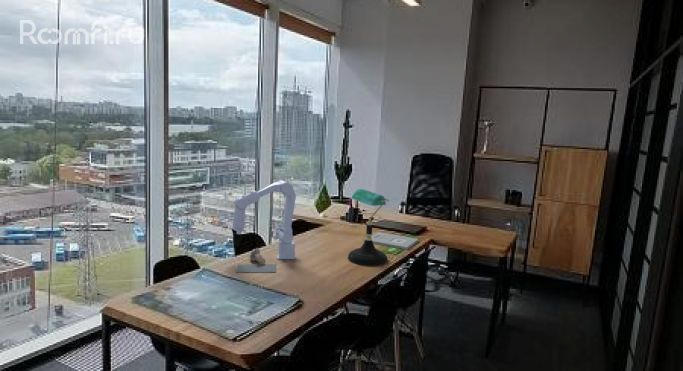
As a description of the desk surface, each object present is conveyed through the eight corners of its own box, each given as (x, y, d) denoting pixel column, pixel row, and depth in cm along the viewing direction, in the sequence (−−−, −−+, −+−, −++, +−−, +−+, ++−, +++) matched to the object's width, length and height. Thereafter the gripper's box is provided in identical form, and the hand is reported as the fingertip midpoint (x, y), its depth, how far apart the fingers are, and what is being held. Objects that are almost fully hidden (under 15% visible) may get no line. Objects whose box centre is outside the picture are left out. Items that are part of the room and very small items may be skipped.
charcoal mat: (275, 264, 234) (275, 264, 234) (275, 272, 222) (275, 271, 222) (238, 264, 231) (238, 264, 231) (236, 272, 219) (236, 272, 219)
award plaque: (377, 234, 310) (378, 232, 310) (418, 242, 297) (418, 238, 296) (363, 242, 288) (364, 239, 288) (406, 250, 275) (406, 247, 275)
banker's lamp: (339, 254, 258) (342, 188, 252) (372, 251, 268) (376, 187, 262) (361, 268, 234) (366, 196, 229) (396, 264, 245) (401, 195, 239)
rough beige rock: (255, 266, 230) (256, 253, 228) (247, 258, 242) (248, 245, 241) (266, 265, 232) (266, 252, 231) (257, 257, 245) (258, 244, 244)
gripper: (230, 216, 238) (227, 240, 239) (232, 221, 224) (229, 247, 226) (243, 217, 240) (240, 240, 241) (245, 222, 226) (242, 248, 228)
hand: (235, 244), depth 234 cm, fingers open, 7 cm apart
